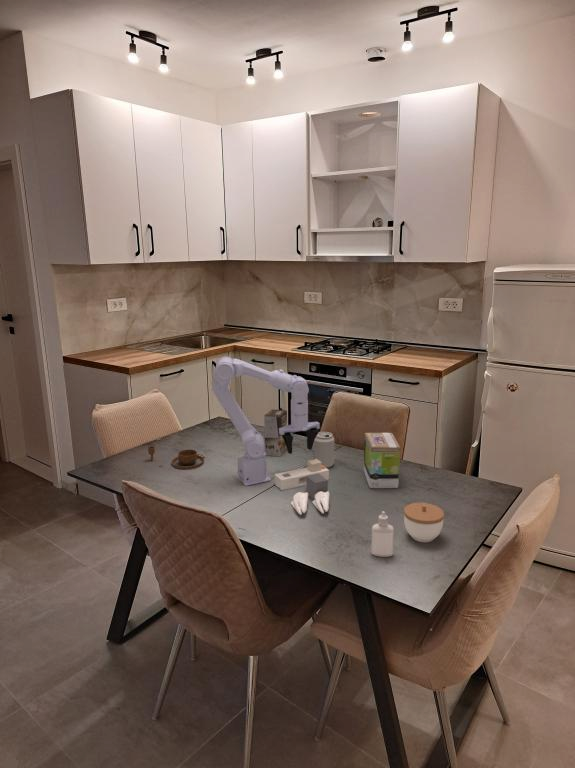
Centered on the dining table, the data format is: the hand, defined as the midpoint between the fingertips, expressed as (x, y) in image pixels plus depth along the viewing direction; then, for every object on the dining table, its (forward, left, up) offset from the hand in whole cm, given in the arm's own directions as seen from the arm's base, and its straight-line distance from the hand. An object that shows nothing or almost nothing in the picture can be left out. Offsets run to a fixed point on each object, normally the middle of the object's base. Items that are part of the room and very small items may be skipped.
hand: (299, 450), depth 190 cm
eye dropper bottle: (-3, -53, -10) cm, 54 cm away
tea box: (+24, -14, -10) cm, 30 cm away
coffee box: (+3, +26, -10) cm, 28 cm away
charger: (-2, -15, -10) cm, 18 cm away
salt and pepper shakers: (-8, -23, -10) cm, 26 cm away
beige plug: (+4, -4, -6) cm, 8 cm away
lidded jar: (+12, -51, -10) cm, 53 cm away
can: (+13, +6, -10) cm, 18 cm away
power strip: (-1, -4, -10) cm, 11 cm away
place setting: (-33, +34, -11) cm, 49 cm away
